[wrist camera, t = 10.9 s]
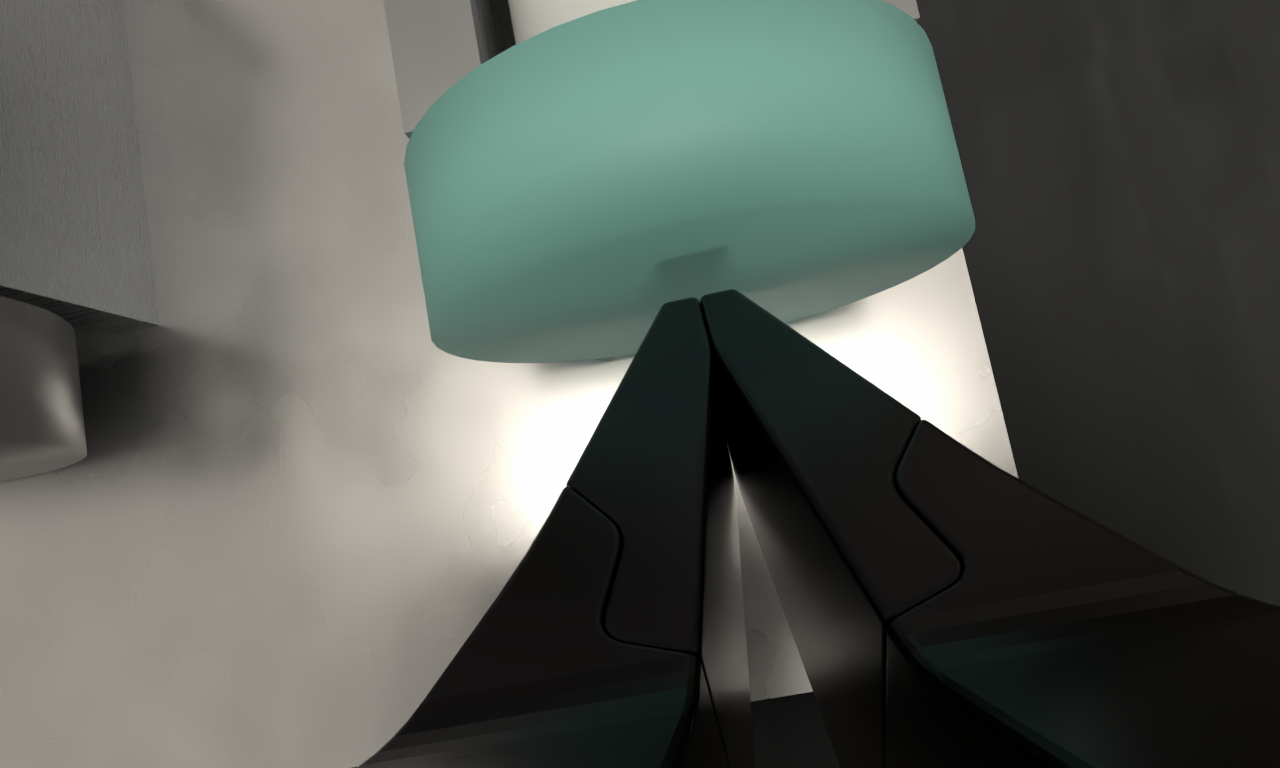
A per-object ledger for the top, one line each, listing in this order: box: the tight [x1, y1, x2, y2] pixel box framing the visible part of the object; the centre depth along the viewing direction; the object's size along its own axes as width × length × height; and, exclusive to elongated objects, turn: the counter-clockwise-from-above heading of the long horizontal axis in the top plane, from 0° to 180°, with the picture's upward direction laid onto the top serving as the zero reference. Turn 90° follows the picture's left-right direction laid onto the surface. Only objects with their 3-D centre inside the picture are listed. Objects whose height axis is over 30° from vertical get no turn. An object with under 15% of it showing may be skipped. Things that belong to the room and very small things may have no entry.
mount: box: [0, 0, 1018, 768], centre depth 14 cm, size 22×26×7 cm
